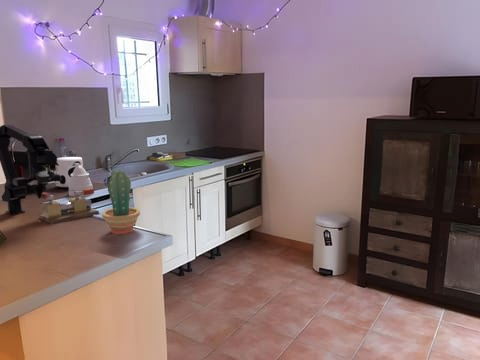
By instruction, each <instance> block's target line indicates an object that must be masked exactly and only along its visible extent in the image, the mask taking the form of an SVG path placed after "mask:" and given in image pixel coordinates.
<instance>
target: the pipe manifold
mask: <svg viewBox="0 0 480 360" xmlns="http://www.w3.org/2000/svg"><path fill="white" fill-rule="evenodd" d="M92 188H93V187H92ZM92 188H91V189H85V190H81V191H74V196H75V197H71V198H70V197H69V198H68V202H65V203H61V202H58V201H55V200H52V201H48V202H43V203H42V202H41V209H42V210H41V211H42V214H43V217H46V218H48V219H50V218H55V217H60V216H61V214H62V215H66V214H68V211H70V212H73V213H80V212H85V211H87V210H91V208H92V200H91V199H90V198H87V199H86V198H84V197H79V196H80V195H89V194H92V195H94V194H95V189H94V188H93V189H92ZM89 196H90V195H89Z"/></svg>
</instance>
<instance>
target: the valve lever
mask: <svg viewBox="0 0 480 360" xmlns="http://www.w3.org/2000/svg"><path fill="white" fill-rule="evenodd" d="M40 199H44V200H47V201H48V202H49V201H52V200H53V201H55V196H54V194H50V193H49V192H42V195H41V198H40Z"/></svg>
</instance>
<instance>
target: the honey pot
mask: <svg viewBox="0 0 480 360" xmlns="http://www.w3.org/2000/svg"><path fill="white" fill-rule="evenodd" d="M75 166H76V168H75V169H74V171H73V174H71V175H70V176H71V180H70V183H69V186H68V187H69V188H68V196H69V197H71V198H75V196H74V191H81V190H85V189H91V188H92V189H94V187H93V183H92V182H91V178H90V177H89V175H90V173H89V172H87V171H86V169H85V168H84V166H83V167H82V166H80V165H79V164H78V163H77V164H75ZM92 195H93V194H89V195H80V196H79V197H82V198H84V197H87V196H88V197H89V196H92Z"/></svg>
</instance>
